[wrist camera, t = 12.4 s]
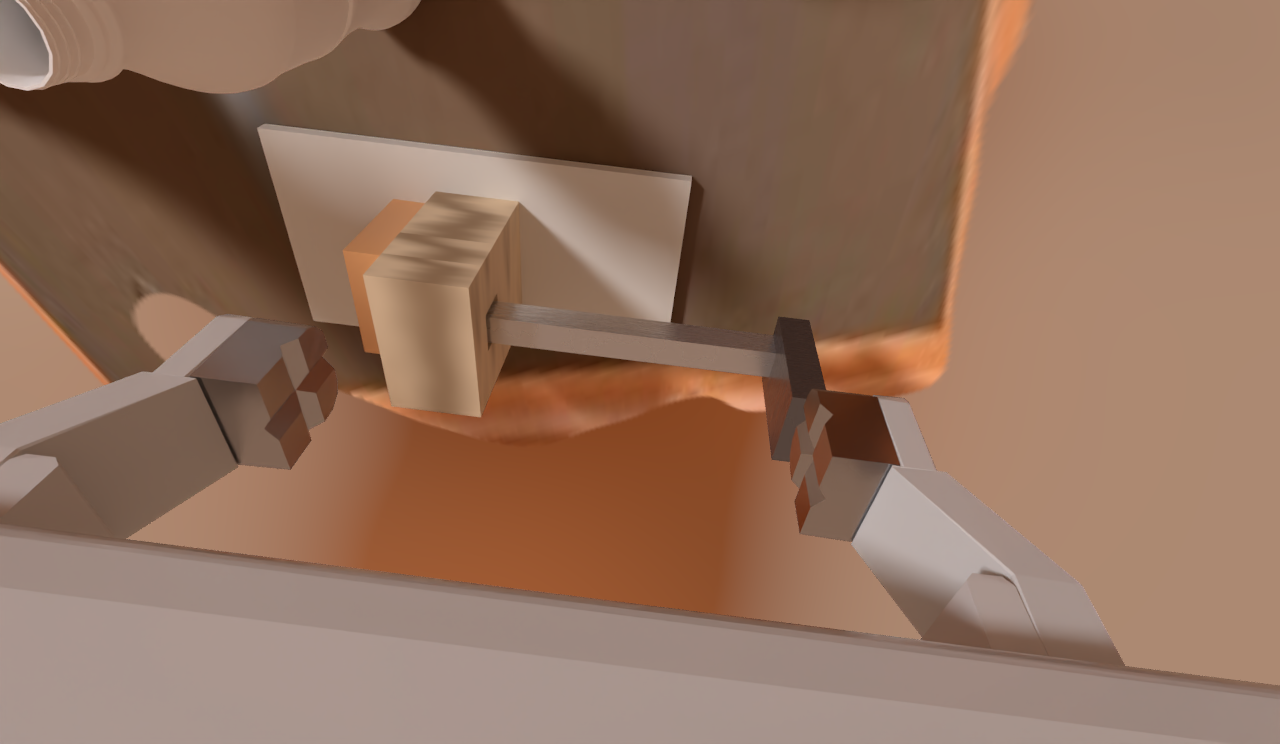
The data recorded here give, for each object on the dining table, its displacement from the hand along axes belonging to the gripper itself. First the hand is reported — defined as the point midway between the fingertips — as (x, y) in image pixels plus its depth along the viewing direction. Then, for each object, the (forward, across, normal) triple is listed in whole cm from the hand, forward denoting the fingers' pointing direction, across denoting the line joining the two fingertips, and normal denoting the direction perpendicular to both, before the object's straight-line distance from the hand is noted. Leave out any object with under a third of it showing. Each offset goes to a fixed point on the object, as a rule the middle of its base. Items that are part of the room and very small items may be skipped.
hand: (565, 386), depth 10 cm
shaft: (+26, 0, +17) cm, 31 cm away
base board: (+34, +12, +17) cm, 40 cm away
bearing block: (+33, +12, +17) cm, 39 cm away
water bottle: (+34, +17, -2) cm, 38 cm away
